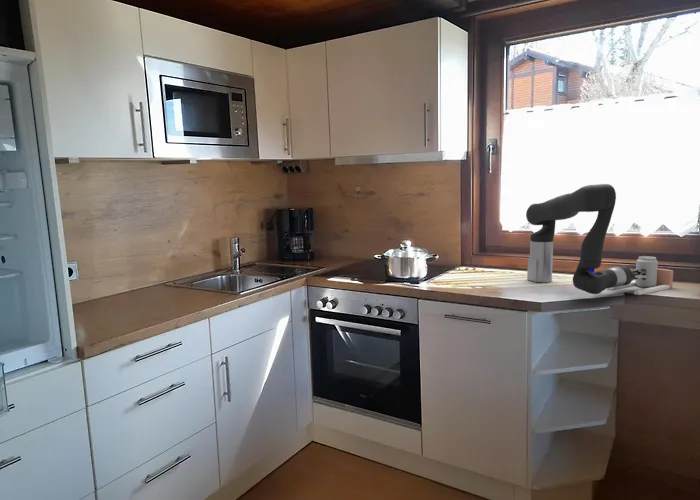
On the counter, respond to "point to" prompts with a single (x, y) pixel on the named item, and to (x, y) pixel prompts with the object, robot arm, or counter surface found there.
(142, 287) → the counter surface
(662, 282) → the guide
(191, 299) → the counter surface
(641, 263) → the can
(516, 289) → the counter surface
